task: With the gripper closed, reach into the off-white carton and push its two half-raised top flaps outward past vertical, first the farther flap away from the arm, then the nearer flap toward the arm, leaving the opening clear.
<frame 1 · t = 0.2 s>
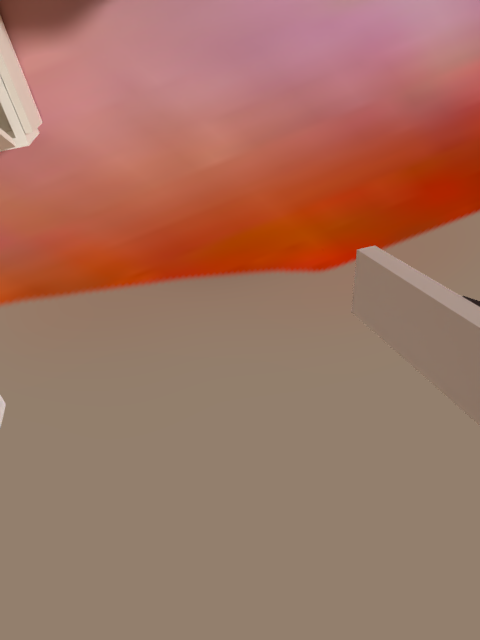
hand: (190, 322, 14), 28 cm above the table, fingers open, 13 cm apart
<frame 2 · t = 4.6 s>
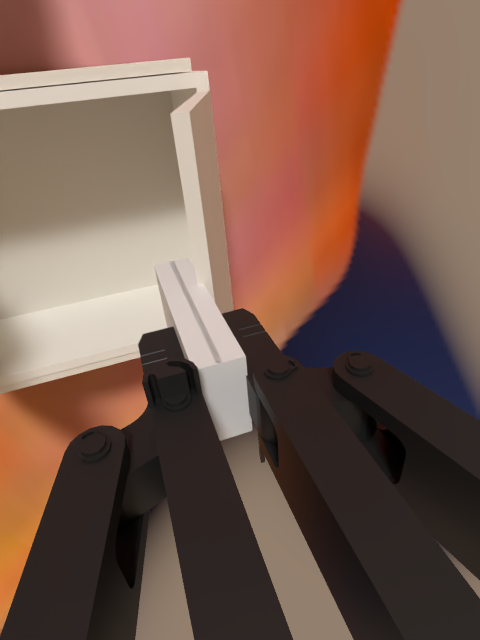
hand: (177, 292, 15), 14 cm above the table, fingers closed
carton: (58, 211, 26), on the table
flap 2: (215, 261, 17), point 12 cm above the table, hinge at 71.4°, touching gripper
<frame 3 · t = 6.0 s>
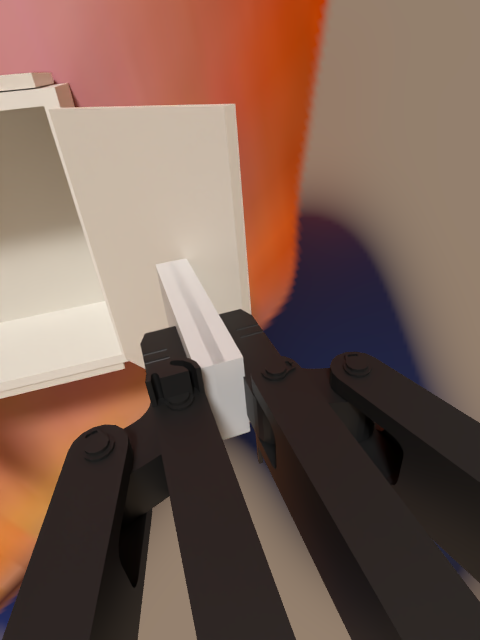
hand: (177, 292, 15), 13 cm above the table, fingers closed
flap 2: (162, 274, 17), point 12 cm above the table, hinge at 127.3°, touching gripper
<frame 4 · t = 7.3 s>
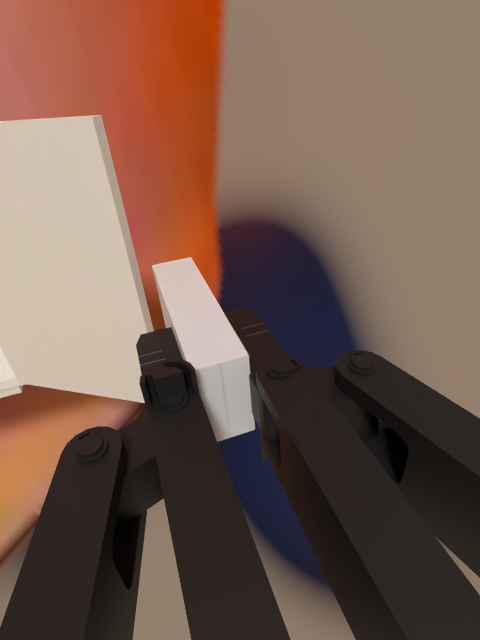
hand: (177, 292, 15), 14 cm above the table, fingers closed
flap 2: (49, 284, 17), point 11 cm above the table, hinge at 145.5°
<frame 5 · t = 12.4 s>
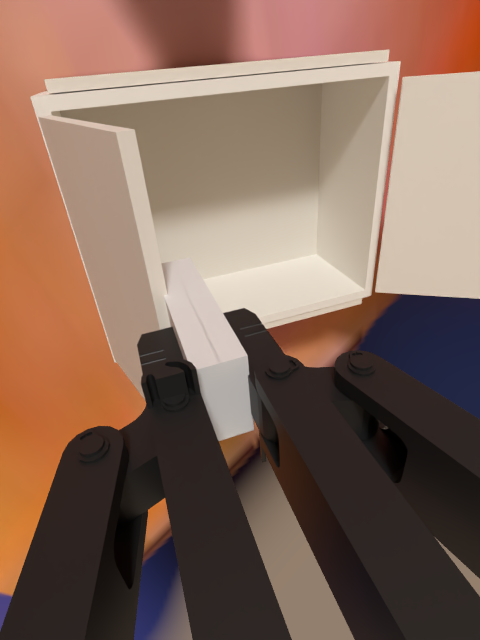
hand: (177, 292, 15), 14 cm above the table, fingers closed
carton: (210, 191, 28), on the table
flap 1: (120, 289, 16), point 12 cm above the table, hinge at 73.9°, touching gripper
flap 2: (467, 199, 23), point 11 cm above the table, hinge at 145.6°
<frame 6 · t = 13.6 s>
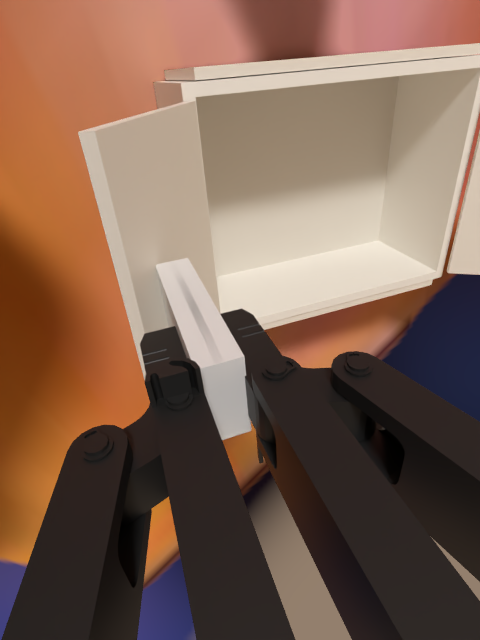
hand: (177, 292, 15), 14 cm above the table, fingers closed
carton: (288, 179, 30), on the table
flap 1: (179, 271, 17), point 12 cm above the table, hinge at 122.2°, touching gripper
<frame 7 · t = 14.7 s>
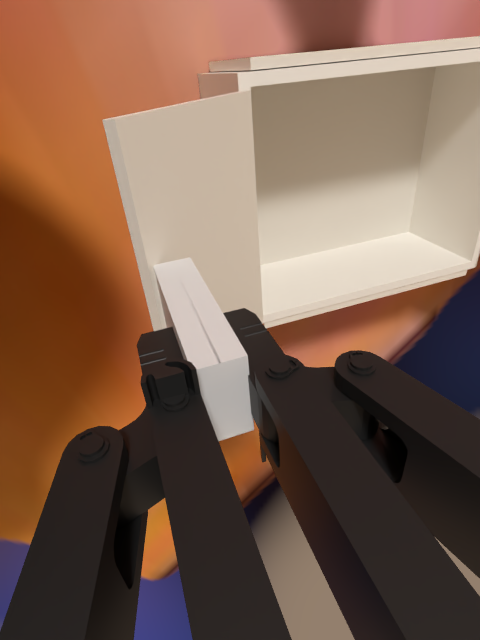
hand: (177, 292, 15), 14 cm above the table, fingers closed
carton: (324, 170, 30), on the table
flap 1: (211, 255, 18), point 11 cm above the table, hinge at 137.6°, touching gripper
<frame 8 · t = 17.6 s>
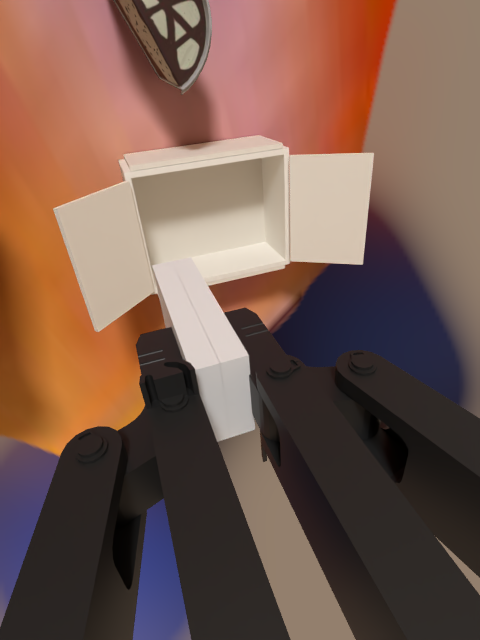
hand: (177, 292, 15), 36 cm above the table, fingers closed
carton: (201, 206, 51), on the table
flap 1: (111, 256, 40), point 11 cm above the table, hinge at 137.9°
flap 2: (328, 212, 46), point 11 cm above the table, hinge at 145.6°
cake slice: (156, 14, 40), on the table
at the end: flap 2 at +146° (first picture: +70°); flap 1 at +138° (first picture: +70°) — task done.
